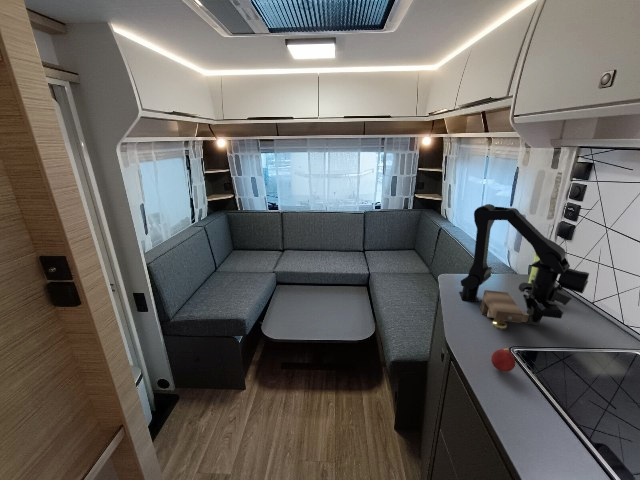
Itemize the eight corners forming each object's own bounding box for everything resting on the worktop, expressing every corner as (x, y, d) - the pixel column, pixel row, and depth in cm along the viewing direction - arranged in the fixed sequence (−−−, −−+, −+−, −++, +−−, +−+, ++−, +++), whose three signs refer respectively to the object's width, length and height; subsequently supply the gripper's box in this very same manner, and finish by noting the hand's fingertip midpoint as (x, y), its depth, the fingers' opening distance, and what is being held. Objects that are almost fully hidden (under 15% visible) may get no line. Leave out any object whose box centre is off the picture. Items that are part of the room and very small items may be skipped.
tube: (525, 287, 131) (537, 247, 124) (526, 282, 134) (537, 243, 127) (541, 291, 128) (554, 250, 121) (541, 286, 131) (553, 246, 125)
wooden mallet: (486, 314, 110) (488, 303, 109) (535, 320, 107) (539, 308, 105) (488, 319, 108) (491, 307, 106) (539, 325, 104) (543, 313, 103)
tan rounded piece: (490, 321, 108) (491, 318, 107) (503, 323, 107) (504, 319, 106) (494, 329, 103) (495, 325, 103) (508, 330, 103) (509, 327, 102)
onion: (493, 377, 83) (499, 355, 80) (485, 362, 88) (491, 340, 86) (515, 379, 82) (522, 357, 79) (506, 364, 88) (512, 342, 85)
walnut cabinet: (479, 310, 114) (484, 290, 111) (502, 312, 112) (507, 292, 109) (492, 334, 100) (498, 312, 97) (518, 338, 99) (524, 315, 95)
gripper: (589, 298, 90) (573, 339, 96) (556, 271, 107) (545, 307, 113) (548, 294, 92) (535, 334, 98) (523, 268, 109) (513, 304, 115)
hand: (532, 319), depth 106 cm, fingers closed on wooden mallet, 3 cm apart
